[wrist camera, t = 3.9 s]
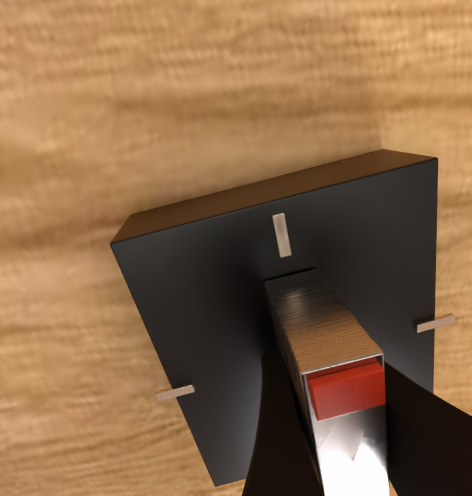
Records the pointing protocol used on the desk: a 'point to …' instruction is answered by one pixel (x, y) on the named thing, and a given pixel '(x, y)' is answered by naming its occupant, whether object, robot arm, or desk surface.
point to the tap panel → (276, 266)
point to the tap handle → (333, 384)
